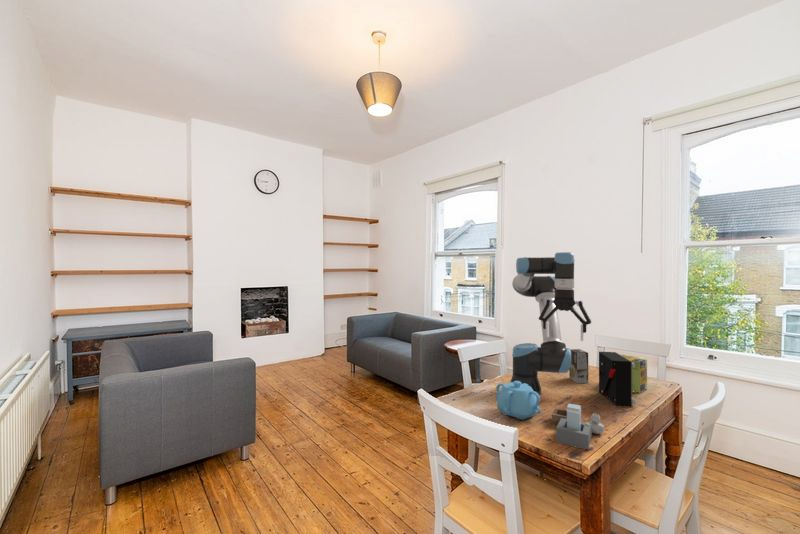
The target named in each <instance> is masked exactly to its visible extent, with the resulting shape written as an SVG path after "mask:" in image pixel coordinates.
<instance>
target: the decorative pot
mask: <svg viewBox="0 0 800 534" xmlns="http://www.w3.org/2000/svg"><path fill="white" fill-rule="evenodd" d="M496 392H497V396H496V397H495V401H496V406H497V408H498V410H499V411H500V412H501V413H502V414H503V413H504V414H506V415H505V416H510V417H513V418H517V419H518V420H519V419H521V420H520V421H524V420H525V419H529V418H531V417H533V416H535V414H536V415H540V414H541V413H542V409H541V408H540V407H539V404H540V402H541V395H540V396H539V394H538V393H537V392H535V391H533V389H532V388H531V387H530V386H529V385H528V384H526V383H523V384H521V382H520V381H513V382H507V383H504V382H500V383H498V384H497V385H496ZM504 414H503V415H504ZM523 419H524V420H523Z"/></svg>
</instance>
